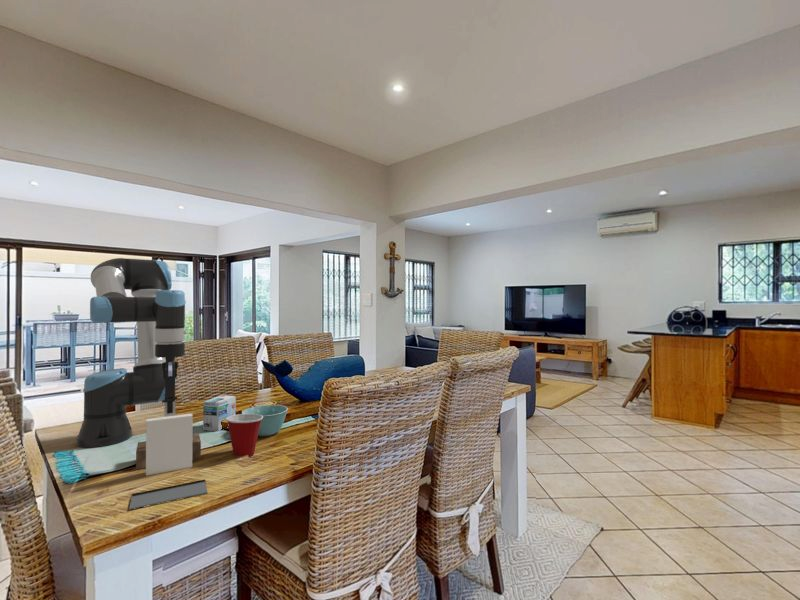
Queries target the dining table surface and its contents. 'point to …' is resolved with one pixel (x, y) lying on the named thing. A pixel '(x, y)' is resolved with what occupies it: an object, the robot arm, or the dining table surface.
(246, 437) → the plastic cup
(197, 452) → the slot box
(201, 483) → the rubber mat
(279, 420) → the bowl
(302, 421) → the dining table surface
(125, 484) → the dining table surface
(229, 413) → the light bulb box
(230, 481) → the dining table surface
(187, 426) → the rectangular insert block
